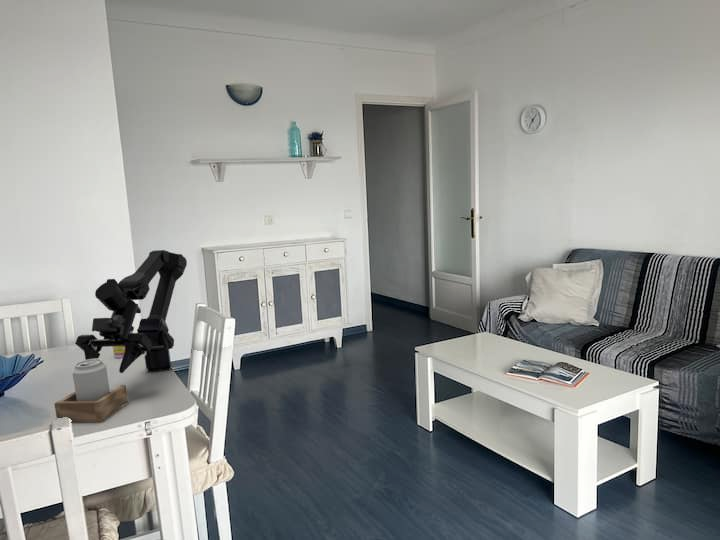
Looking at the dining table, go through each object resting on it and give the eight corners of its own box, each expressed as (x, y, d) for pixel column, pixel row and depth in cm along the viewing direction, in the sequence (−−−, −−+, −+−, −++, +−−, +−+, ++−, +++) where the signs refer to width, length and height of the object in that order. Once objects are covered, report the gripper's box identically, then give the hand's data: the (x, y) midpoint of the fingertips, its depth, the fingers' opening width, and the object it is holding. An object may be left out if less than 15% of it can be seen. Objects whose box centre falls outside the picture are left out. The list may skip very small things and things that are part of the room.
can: (73, 410, 135) (65, 363, 133) (103, 400, 141) (96, 355, 139) (87, 416, 130) (79, 368, 129) (117, 405, 136) (110, 359, 134)
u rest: (87, 403, 141) (84, 385, 141) (128, 403, 140) (125, 385, 139) (57, 422, 130) (54, 403, 130) (101, 422, 129) (98, 402, 128)
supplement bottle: (130, 357, 181) (125, 320, 179) (110, 359, 181) (105, 321, 179) (138, 351, 187) (133, 315, 185) (119, 353, 187) (114, 316, 186)
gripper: (73, 305, 144) (51, 359, 135) (139, 302, 141) (121, 357, 132) (96, 326, 153) (77, 378, 144) (159, 324, 150) (143, 377, 141)
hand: (104, 372), depth 140 cm, fingers open, 9 cm apart
